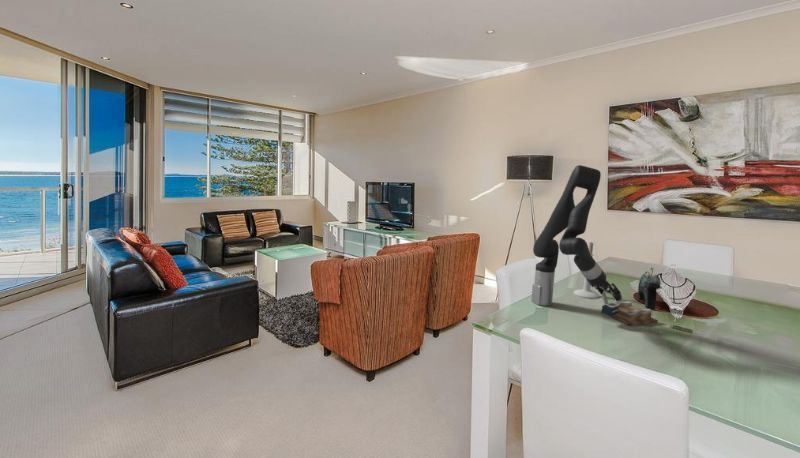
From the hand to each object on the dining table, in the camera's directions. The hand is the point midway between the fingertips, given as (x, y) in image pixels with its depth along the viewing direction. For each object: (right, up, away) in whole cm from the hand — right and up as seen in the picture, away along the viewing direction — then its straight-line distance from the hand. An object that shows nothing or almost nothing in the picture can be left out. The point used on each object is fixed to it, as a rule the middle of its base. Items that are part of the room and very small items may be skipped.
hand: (610, 296), depth 166 cm
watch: (0, -8, +2) cm, 8 cm away
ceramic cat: (+34, -10, +29) cm, 46 cm away
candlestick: (+10, -7, +43) cm, 45 cm away
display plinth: (+14, -12, +10) cm, 21 cm away
